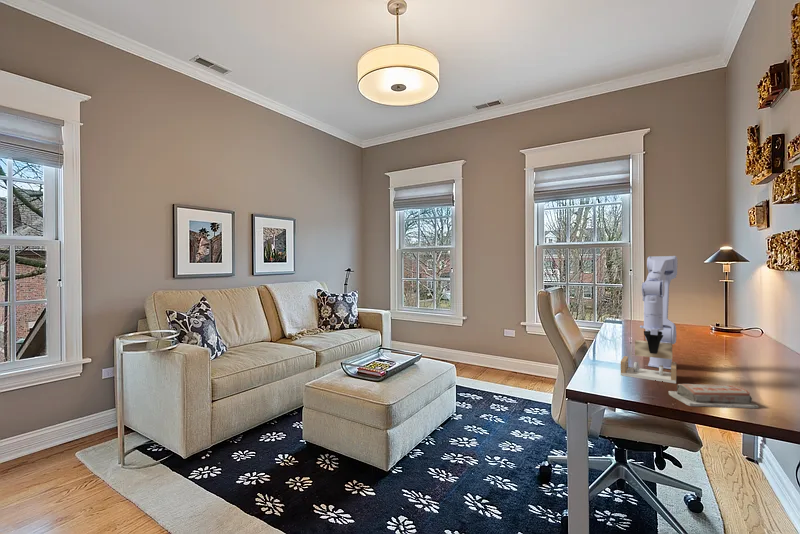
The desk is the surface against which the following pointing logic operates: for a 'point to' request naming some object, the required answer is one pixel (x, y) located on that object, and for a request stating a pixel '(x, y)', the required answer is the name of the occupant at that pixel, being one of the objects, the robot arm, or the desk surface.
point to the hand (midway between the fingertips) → (653, 352)
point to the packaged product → (713, 396)
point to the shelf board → (643, 350)
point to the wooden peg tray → (648, 372)
